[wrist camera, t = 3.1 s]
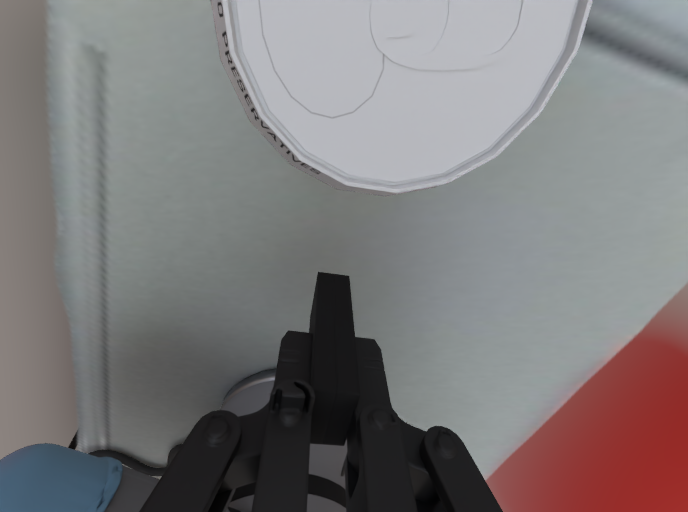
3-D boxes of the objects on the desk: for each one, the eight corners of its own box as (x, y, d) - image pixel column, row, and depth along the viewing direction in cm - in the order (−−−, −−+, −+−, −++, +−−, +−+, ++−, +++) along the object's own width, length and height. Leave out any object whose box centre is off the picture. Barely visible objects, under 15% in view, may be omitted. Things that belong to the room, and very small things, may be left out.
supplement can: (290, 125, 21) (230, 220, 8) (276, -46, 17) (108, -406, 4) (416, 123, 21) (554, 213, 8) (432, -45, 17) (751, -380, 4)
